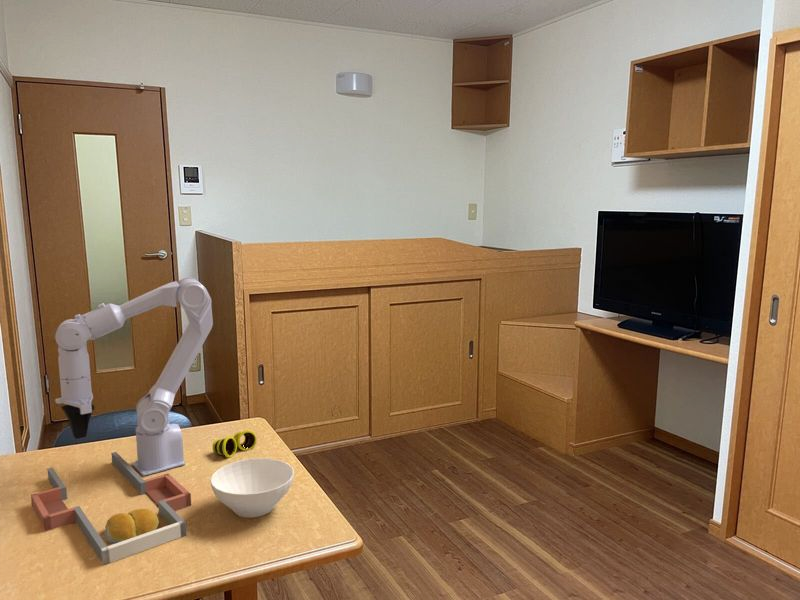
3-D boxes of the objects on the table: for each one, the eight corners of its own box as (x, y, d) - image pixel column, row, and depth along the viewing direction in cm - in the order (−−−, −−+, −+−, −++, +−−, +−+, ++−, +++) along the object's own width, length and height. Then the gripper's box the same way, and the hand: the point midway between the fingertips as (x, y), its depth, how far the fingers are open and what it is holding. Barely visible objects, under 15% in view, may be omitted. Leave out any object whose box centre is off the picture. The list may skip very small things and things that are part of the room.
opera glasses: (246, 446, 151) (243, 427, 151) (258, 447, 147) (255, 428, 147) (212, 459, 143) (209, 438, 143) (225, 460, 140) (222, 439, 140)
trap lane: (139, 456, 142) (138, 446, 142) (212, 525, 112) (212, 513, 111) (21, 486, 127) (20, 475, 126) (70, 577, 96) (68, 562, 96)
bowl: (241, 539, 107) (240, 503, 106) (196, 509, 118) (194, 475, 117) (311, 507, 119) (310, 474, 118) (264, 482, 130) (263, 451, 129)
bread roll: (163, 534, 109) (162, 514, 109) (110, 551, 104) (108, 529, 103) (152, 515, 116) (151, 496, 115) (101, 529, 111) (99, 509, 110)
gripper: (46, 372, 130) (51, 431, 132) (62, 387, 119) (67, 452, 121) (82, 366, 135) (86, 424, 137) (100, 381, 124) (105, 443, 126)
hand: (80, 437), depth 129 cm, fingers closed
